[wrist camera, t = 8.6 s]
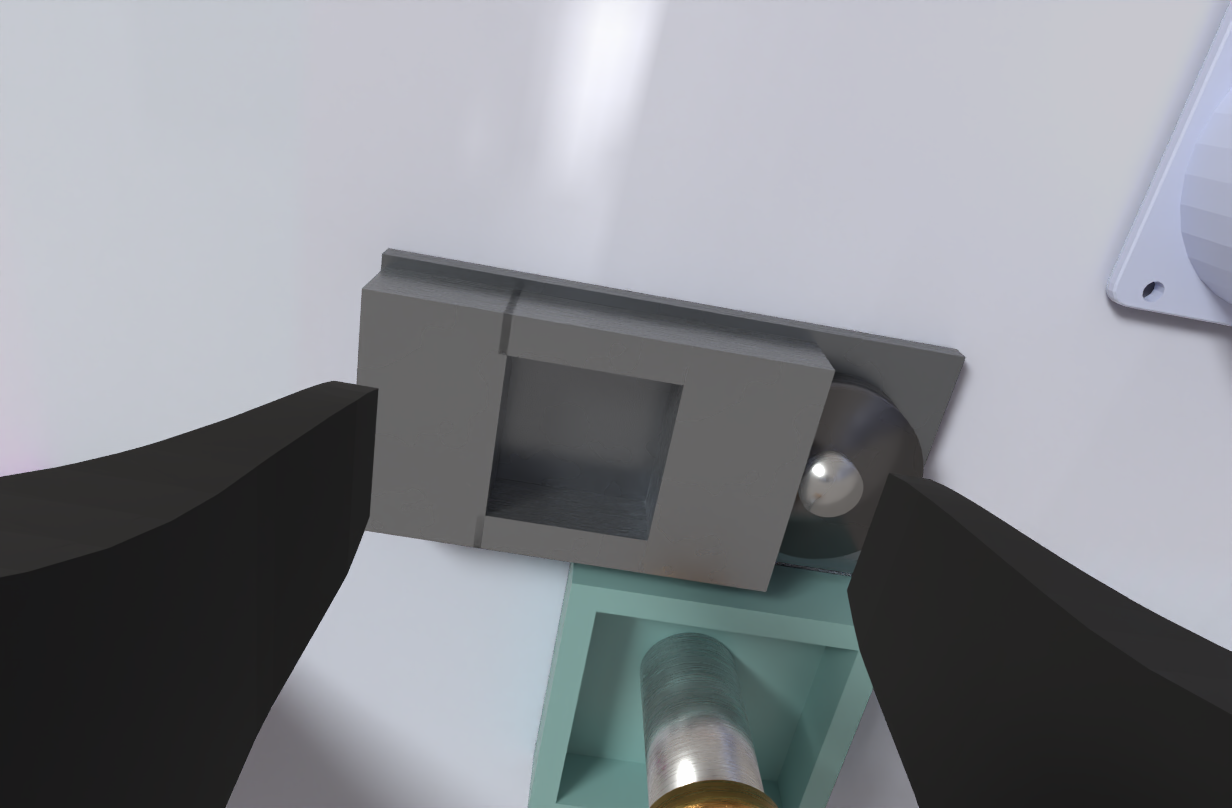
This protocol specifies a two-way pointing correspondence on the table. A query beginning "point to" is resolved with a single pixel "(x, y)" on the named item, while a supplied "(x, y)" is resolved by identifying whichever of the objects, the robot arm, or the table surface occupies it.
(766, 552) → the plate
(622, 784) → the tray
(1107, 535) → the table surface
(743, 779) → the pin
